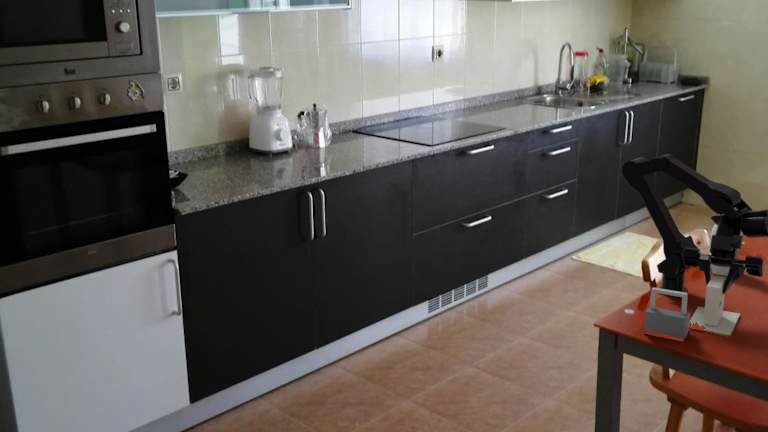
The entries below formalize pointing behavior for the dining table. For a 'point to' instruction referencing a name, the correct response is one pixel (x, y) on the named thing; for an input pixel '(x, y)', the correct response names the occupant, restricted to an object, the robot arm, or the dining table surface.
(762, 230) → the robot arm
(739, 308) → the dining table surface
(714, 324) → the white rectangular block
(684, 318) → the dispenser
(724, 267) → the milk bottle
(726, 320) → the mat
